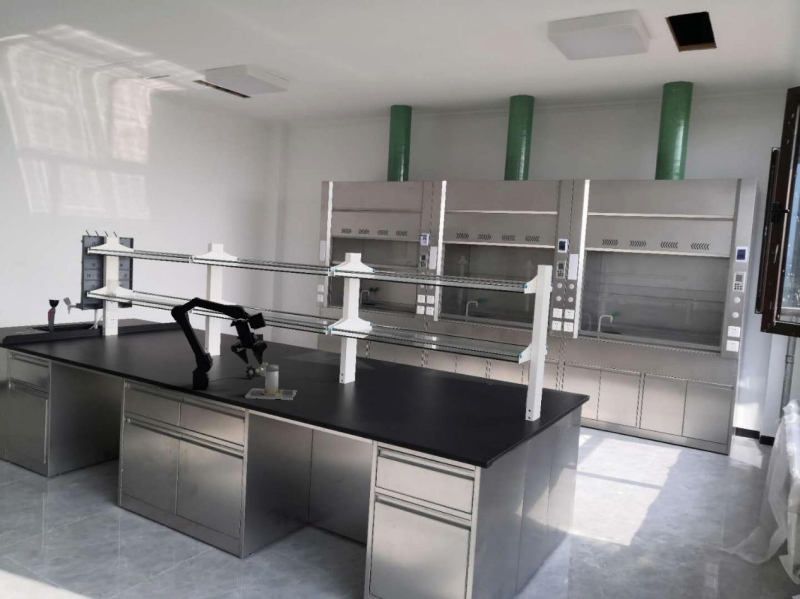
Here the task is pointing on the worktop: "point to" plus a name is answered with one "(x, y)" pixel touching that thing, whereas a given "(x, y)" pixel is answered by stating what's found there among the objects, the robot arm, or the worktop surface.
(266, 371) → the domed cap cylinder
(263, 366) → the valve
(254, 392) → the shaft mount
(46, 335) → the worktop surface
